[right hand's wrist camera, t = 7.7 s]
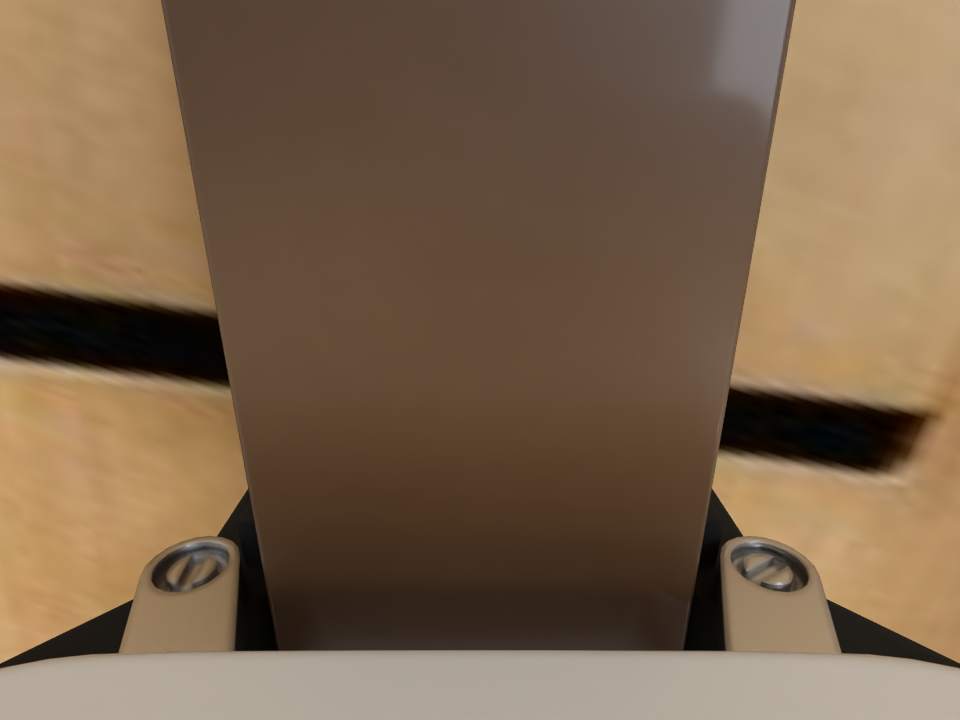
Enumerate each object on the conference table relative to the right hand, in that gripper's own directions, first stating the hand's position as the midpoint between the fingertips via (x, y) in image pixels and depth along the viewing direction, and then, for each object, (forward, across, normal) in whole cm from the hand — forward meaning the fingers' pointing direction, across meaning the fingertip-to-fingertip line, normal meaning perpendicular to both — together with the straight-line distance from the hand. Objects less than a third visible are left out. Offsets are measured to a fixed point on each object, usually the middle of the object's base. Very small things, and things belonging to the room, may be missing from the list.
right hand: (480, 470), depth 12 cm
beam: (+2, 0, -34) cm, 34 cm away
